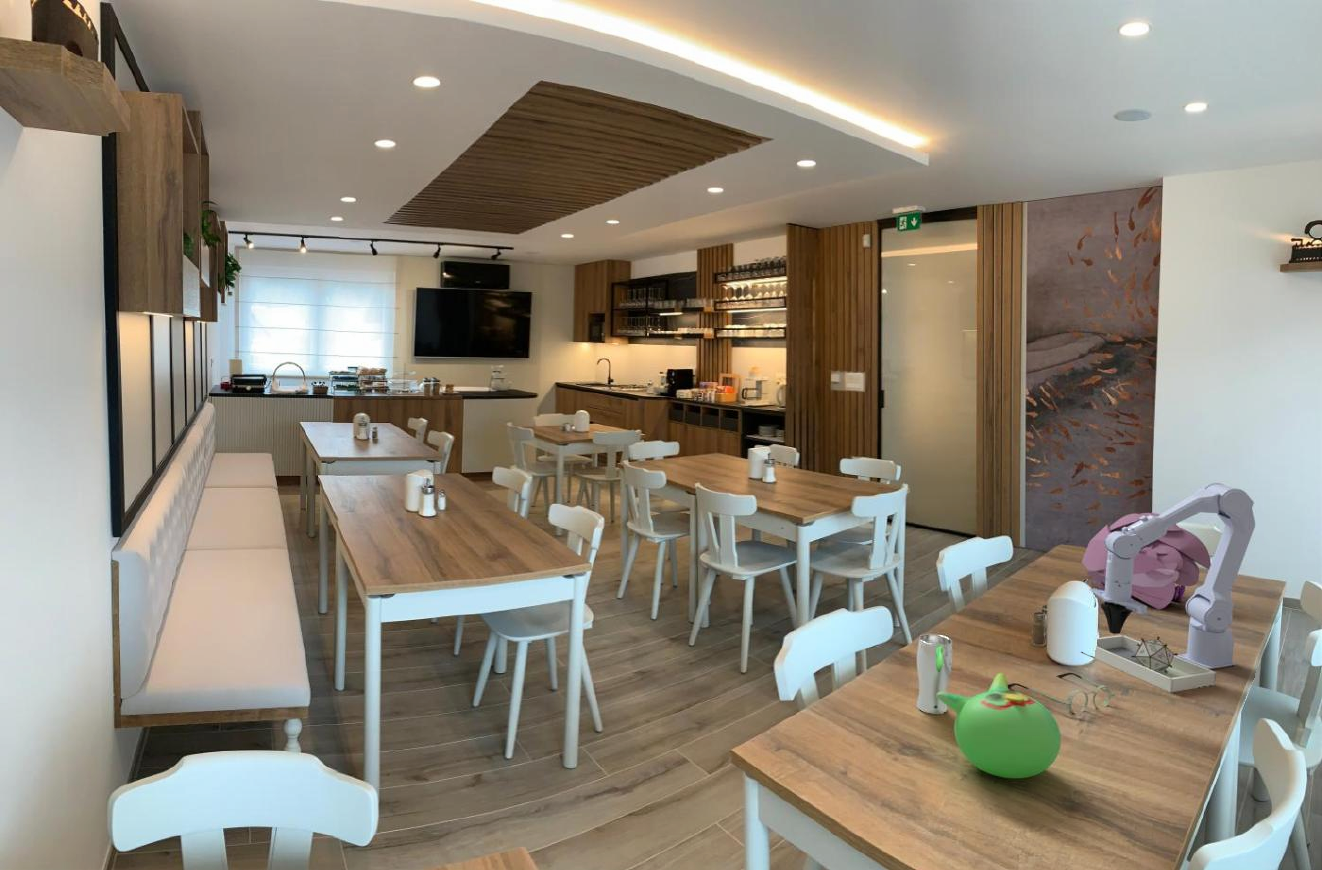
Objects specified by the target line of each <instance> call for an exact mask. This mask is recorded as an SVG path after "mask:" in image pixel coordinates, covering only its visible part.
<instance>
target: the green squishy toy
mask: <svg viewBox="0 0 1322 870" xmlns="http://www.w3.org/2000/svg"><path fill="white" fill-rule="evenodd" d="M1007 682H1008V681H1007V678H1006V676H1005V674H1004V672H1003V673H1002V672H998V673H997V674H996V676H995V677H994V678H993V681H992V683H991V685H990V686H989V687H990V688H989V689H988V691H984V692H981V693H978V694H975V695H974V696H971V697H968V696H967V697H966V696H963V695H959V694H953V693H950V692H946V693H944V692H939V693H937V695H936V696H937V698H938V699H939V700H941V701H942V702H943V703H944V704H946V705H947V708H948V707H949V709H951V710H952V711H953V712H954V713H956V716H955V719H954V726H953V729H954V730H953V731H954V737H955V739H956V743H957V745H958V748H959V749H960V751H961V753H962V754H963V755H964V756H965V758H966V759H967V760H968V762H970V763H971V764H972V765H974V766H975V767H976V768H978V770H979V769H980V770H981V771H983V772H985V773H986V774H990V775H992V776H995V777H999V778H1000V777H1001V778H1004V779H1005V778H1006V779H1025V778H1030V777H1034V776H1036V775H1039V774H1041V773H1042V772H1044V771H1045V770H1047V769H1049V767H1050V766H1052V764H1053V763H1054V762H1055V760H1056V759H1057V757H1058V755H1059V752H1060V750H1061V745H1062V743H1061V742H1062V740H1061V739H1062V737H1061V731H1060V728H1059V725H1058V723H1057V721H1056V719H1055V717H1054V716H1053V714H1052V713H1051V712H1050V711H1049V709H1048V708H1047V707H1046V706H1045V705H1043V704H1042V703H1041V702H1039V701H1038V700H1036V699H1034V698H1033V697H1030V696H1028V695H1026V694H1023V693H1020V692H1017V691H1013V690H1009V688H1008V686H1007V685H1008V683H1007Z"/></svg>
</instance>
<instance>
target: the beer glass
mask: <svg viewBox="0 0 1322 870" xmlns="http://www.w3.org/2000/svg"><path fill="white" fill-rule="evenodd" d="M952 668H953V640H952V639H951V638H950V637H948V636H945V635H941V634H938V633H937V634H936V633H924V634H920V635H919V636H918V643H917V651H916V670H917V676H918V677H917V678H918V686H919V687H918V688H919V689H918V690H919V691H918V696H917V701H916V705H915V706H916V708H917V709H918V711H920V710H921V712H922V711H923V712H922V713H925V712H928V713H933V714H942V713H944V712H946V713H947V712H948V706H947V705H946V704H944V703H943V702H942V701H941V700H939V699H938V698H937V696H936V695H937V693H939V692H944V693H947V688H948V684H949V681H950V678H951V674H952ZM928 713H927V714H928ZM942 715H943V714H942Z"/></svg>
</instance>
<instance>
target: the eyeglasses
mask: <svg viewBox="0 0 1322 870" xmlns="http://www.w3.org/2000/svg"><path fill="white" fill-rule="evenodd" d="M1067 676H1075V677H1077V678H1079V679H1081V680H1082V681H1084V682H1086V683H1088V684H1090V685H1092V686H1093V687H1095V688H1096V689H1095V690H1092V691H1091V690H1090V691H1088V692H1087V693H1086V691H1084V690H1080V689H1076V690H1073V691H1071V692H1070V693H1069V694H1068V696H1067V698H1066V701H1062V700H1060V699H1058V698H1056V697H1052V696H1050V695H1048V694H1045V693H1042V692H1040V691H1038V690H1036V689H1032V688H1031V687H1027V686H1025V685H1022V684H1021V683H1020V684H1019V683H1016V682H1015V683H1011V684H1007V686H1008V689H1010V688H1013V687H1015V686H1018V687H1020V688H1023V689H1026V690H1028V691H1029V692H1032V693H1034V694H1036V695H1039V696H1041V697H1044V698H1045V699H1048V700H1051V701H1053V702H1055V703H1058V704H1060V705H1064V706H1065V707H1066V708H1067V710H1068V711H1069V712H1070V713H1071V714H1075V712H1074V711H1073V709H1072V708H1073V707H1072V704H1073V700H1074V698H1075V696H1076V695H1077V694H1079V693H1083V694H1084V696H1085V701H1083V702H1082V704H1084V706H1083V707H1082V709H1081V710H1080V711H1081V712H1084V711H1085V710H1086V709H1087V706H1088V703H1089V694H1093V695H1092V699H1091V701H1092V702H1091V703H1092V704H1093V706H1094V707H1095V708H1096V709H1099V707H1098V706H1097V704H1096V696H1097V694H1098V692H1099V690H1101V691H1103V692H1106V693H1107V694H1108V696H1105V697H1104V699H1103V700H1104V701H1103V702H1102V706H1104V707H1108V705H1110V702H1111V699H1112V697H1115V696H1116V693H1115V692H1112V691H1111V688H1109V687H1108V686H1107V685H1104V684H1100V685H1099V684H1097V683H1095V682H1093V681H1091V680H1089V679H1087V678H1086V677H1083V676H1080V675H1078V674H1077V673H1074V672H1066V673H1062V674H1059V675H1058V674H1057V675H1056V677H1057V678H1059V679H1062V678H1065V677H1067ZM1067 701H1068V702H1067Z"/></svg>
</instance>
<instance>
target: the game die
mask: <svg viewBox="0 0 1322 870" xmlns="http://www.w3.org/2000/svg"><path fill="white" fill-rule="evenodd" d="M1156 638H1157V639H1149V640H1145V638H1144V637H1140V640H1141V641H1142V642H1141V644H1140V645H1139V644H1137V646H1139V648H1138V650H1137V652H1136V654H1135V656H1131V657H1132V658H1134V657H1135V658H1136V659H1137V660H1138V661H1139V662H1140V663H1141V664H1142V666H1145V667H1146V668H1148V669H1151V670H1153V671H1165V673H1168V671H1167V670H1166V669H1167V668H1168V667H1171V668H1173V667H1172V666H1171V665H1170V664H1171V662H1172V659H1173V657H1174V656H1176V657H1177V656H1178V655H1179V653H1177V652H1175V653H1174V652H1173V651H1171V649H1169V648H1168V644H1167V643H1165V644H1164V643H1163V642H1162V641H1161V640H1160V639H1161V638H1160V636H1157V637H1156Z"/></svg>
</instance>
